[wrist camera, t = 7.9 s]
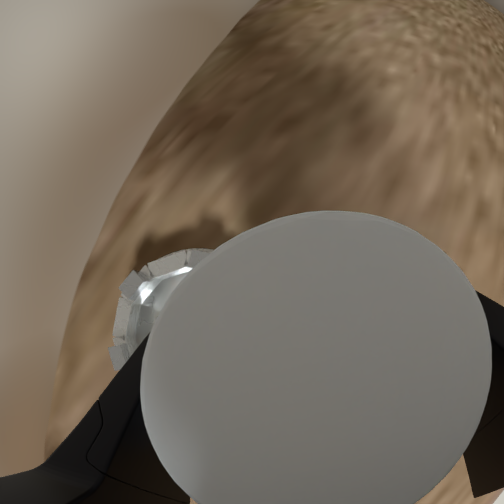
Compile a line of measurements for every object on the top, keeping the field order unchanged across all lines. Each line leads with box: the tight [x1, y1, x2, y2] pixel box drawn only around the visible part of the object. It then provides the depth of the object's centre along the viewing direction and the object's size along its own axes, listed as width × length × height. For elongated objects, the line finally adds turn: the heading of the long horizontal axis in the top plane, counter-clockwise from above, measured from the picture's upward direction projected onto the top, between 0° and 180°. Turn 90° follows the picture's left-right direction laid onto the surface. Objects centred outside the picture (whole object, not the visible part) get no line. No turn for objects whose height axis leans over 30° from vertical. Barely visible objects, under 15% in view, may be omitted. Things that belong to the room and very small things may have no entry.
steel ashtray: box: [108, 248, 214, 371], centre depth 19 cm, size 14×14×3 cm
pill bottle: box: [140, 211, 492, 504], centre depth 8 cm, size 6×6×12 cm
